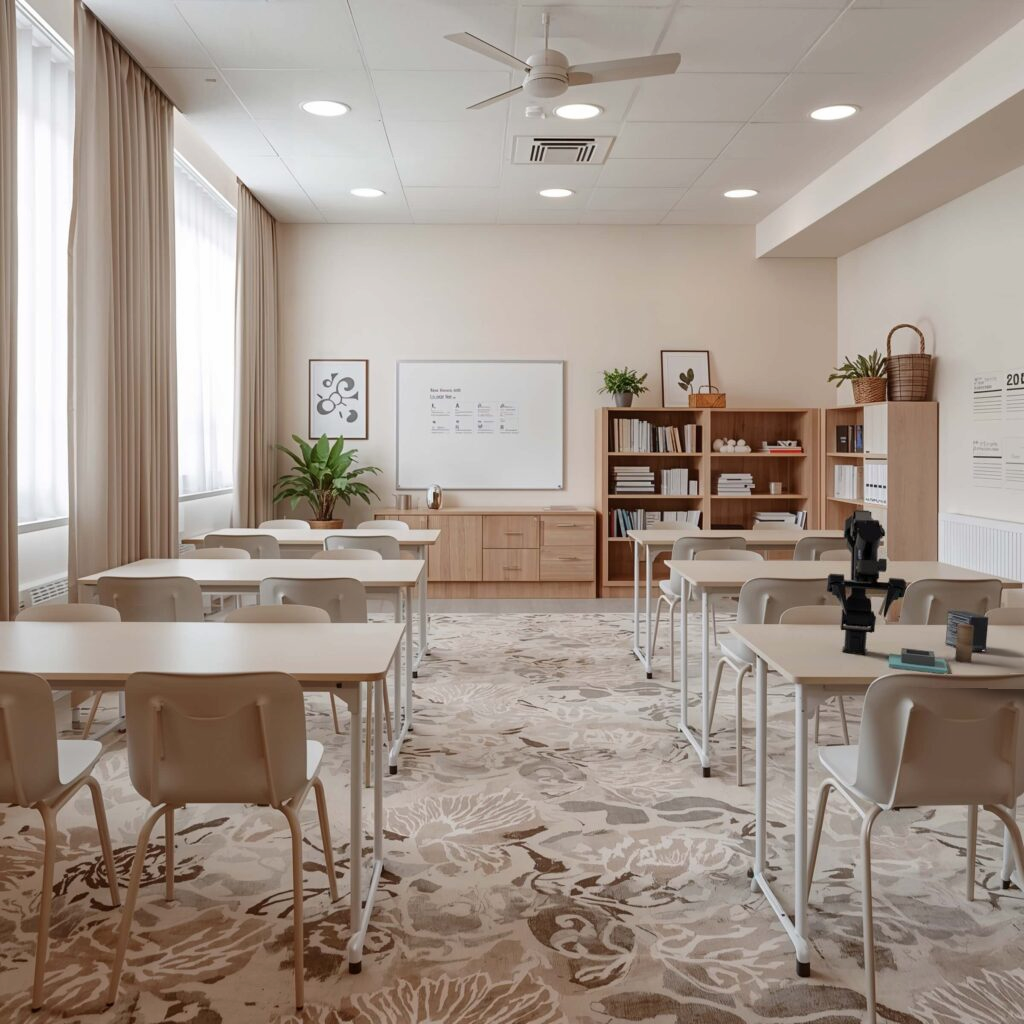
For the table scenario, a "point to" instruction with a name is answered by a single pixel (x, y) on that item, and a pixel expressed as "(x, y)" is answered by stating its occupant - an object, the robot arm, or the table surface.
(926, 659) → the docking socket
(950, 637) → the small box
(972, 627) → the peg
